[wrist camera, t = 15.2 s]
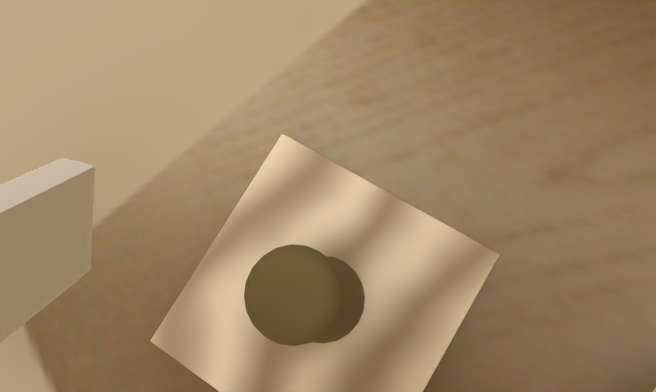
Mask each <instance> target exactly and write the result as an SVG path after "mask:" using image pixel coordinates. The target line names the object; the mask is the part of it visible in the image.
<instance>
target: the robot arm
mask: <svg viewBox="0 0 656 392" xmlns="http://www.w3.org/2000/svg"><path fill="white" fill-rule="evenodd" d="M94 175H95V166H92V165H89V164H85V163H81V162H78V161H73V160H71V159H66V158H61V159H59V160H56V161H54V162H52V163H49V164H47V165H45V166H42V167H40V168H38V169H35V170H33V171H31V172H28V173H26V174H24V175H21V176H19V177H17V178H14V179H12V180H10V181H7V182H5V183H3V184H0V342H2V341H3V340H4V339H6V338H7V337H8V336H9V335H10V334H12V333H13V332H14V331H15V330H17V329H18V328H19V327H20V326H22V325H23V324H24V323H25V322H27V321H28V320H29V319H30V318H32V317H33V316H34V315H35V314H37V313H38V312H39V311H40V310H42V309H43V308H44V307H45V306H47V305H48V304H49V303H50V302H52V301H53V300H54V299H55V298H56V297H58V296H59V295H60V294H61V293H63V292H64V291H65V290H66V289H68V288H69V287H70V286H71V285H73V284H74V283H75V282H76V281H78V280H79V279H80V278H81V277H83V276H84V275H85V274H86V273H88V272H89V271H90V270H91V246H92V222H93V198H94ZM653 392H656V387H655V389H654V390H653Z"/></svg>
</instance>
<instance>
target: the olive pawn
mask: <svg viewBox="0 0 656 392" xmlns="http://www.w3.org/2000/svg"><path fill="white" fill-rule="evenodd" d="M244 300H245V306H246V312H247V314H248V316H249V318H250V320H251V322H252V324H253V325H254V327H255V328H256V329H257V330H258V331H259V332H260V333H261V334H262V335H263V336H264V337H266V338H268V339H270V340H272V341H274V342H276V343H278V344H281V345H289V346H298V345H303V344H307V343H311V342H315V343H329V342H334V341H338V340H339V339H341V338H343V337H344V336H346V335H348V334H349V333H350V332H351V331H352V330H353V329H354V327H355V326H356V325H357V324H358V322H359V320H360V318H361V315H362V313H363V311H364V301H365V295H364V290H363V286H362V282H361V280H360V279H359V277H358V275H357V274H356V272H355V271H354V270H353V269H352V268H351V267H350V266H349V265H348V264H347V263H345V262H344V261H341V260H339V259H337V258H334V257H329V256H325V255H323V254H322V253H321V252H320V251H318V250H315V249H313V248H311V247H308V246H305V245H294V244H290V245H286V246H282V247H277V248H275V249H274V250H272V251H270V252H269V253H267V254H265V255H264V256H262V257H261V258H260V259H259V261H258V262H257V263H256V264H255V265H254V266H253V267H252V269H251V271H250V274H249V276H248V278H247V280H246V284H245V292H244Z"/></svg>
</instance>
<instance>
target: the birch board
mask: <svg viewBox="0 0 656 392" xmlns="http://www.w3.org/2000/svg"><path fill="white" fill-rule="evenodd" d="M290 244H294V245H305V246H308V247H311V248H313V249H315V250H318V251H320V252H321V253H322V254H323V255H325V256H329V257H334V258H337V259H339V260H341V261H344V262H345V263H347V264H348V265H349V266H350V267H351V268H352V269H353V270H354V271H355V272H356V274H357V275H358V277H359V279H360V280H361V282H362V286H363V290H364V295H365V301H364V311H363V313H362V315H361V318H360V320H359V322H358V324H357V325H356V326H355V327H354V329H353V330H352V331H351V332H350V333H349V334H348V335H346V336H344V337H343V338H341V339H339V340H338V341H334V342H329V343H315V342H311V343H307V344H303V345H298V346H289V345H281V344H278V343H276V342H274V341H272V340H270V339H268V338H266V337H264V336H263V335H262V334H261V333H260V332H259V331H258V330H257V329H256V328H255V327H254V325H253V324H252V322H251V320H250V318H249V316H248V314H247V312H246V306H245V300H244V292H245V284H246V280H247V278H248V276H249V274H250V271H251V269H252V267H253V266H254V265H255V264H256V263H257V262H258V261H259V259H260V258H261V257H262V256H264V255H265V254H267V253H269V252H270V251H272V250H274V249H275V248H277V247H282V246H286V245H290ZM499 255H500V254H498V253H496V252H494V251H492V250H491V249H489V248H487V247H485V246H483V245H482V244H480V243H478V242H476V241H474V240H473V239H471V238H469V237H467V236H465V235H464V234H462V233H460V232H458V231H456V230H455V229H453V228H451V227H449V226H447V225H446V224H444V223H442V222H440V221H438V220H437V219H435V218H433V217H431V216H429V215H428V214H426V213H424V212H422V211H420V210H419V209H417V208H415V207H413V206H411V205H410V204H408V203H406V202H404V201H402V200H401V199H399V198H397V197H395V196H393V195H392V194H390V193H388V192H386V191H384V190H383V189H381V188H379V187H377V186H375V185H374V184H372V183H370V182H368V181H366V180H365V179H363V178H361V177H359V176H357V175H356V174H354V173H352V172H350V171H349V170H347V169H345V168H343V167H341V166H340V165H338V164H336V163H334V162H332V161H331V160H329V159H327V158H325V157H323V156H322V155H320V154H318V153H316V152H314V151H313V150H311V149H309V148H307V147H305V146H304V145H302V144H300V143H298V142H296V141H295V140H293V139H291V138H289V137H287V136H286V135H284V134H282V135H281V136H280V138H279V140H278V141H277V143H276V144H275V146H274V147H273V149H272V151H271V152H270V154H269V155H268V157H267V158H266V160H265V162H264V163H263V165H262V166H261V168H260V169H259V171H258V173H257V174H256V176H255V177H254V179H253V180H252V182H251V183H250V185H249V187H248V188H247V190H246V191H245V193H244V194H243V196H242V198H241V199H240V201H239V202H238V204H237V205H236V207H235V209H234V210H233V212H232V213H231V215H230V216H229V218H228V220H227V221H226V223H225V224H224V226H223V227H222V229H221V231H220V232H219V234H218V235H217V237H216V238H215V240H214V241H213V243H212V245H211V246H210V248H209V249H208V251H207V252H206V254H205V256H204V257H203V259H202V260H201V262H200V263H199V265H198V267H197V268H196V270H195V271H194V273H193V274H192V276H191V278H190V279H189V281H188V282H187V284H186V285H185V287H184V289H183V290H182V292H181V293H180V295H179V296H178V298H177V299H176V301H175V303H174V304H173V306H172V307H171V309H170V310H169V312H168V314H167V315H166V317H165V318H164V320H163V321H162V323H161V325H160V326H159V328H158V329H157V331H156V332H155V334H154V336H153V337H152V339H151V340H150V341H151V342H152V343H154V344H155V345H156V346H158V347H159V348H160V349H162V350H163V351H165V352H166V353H167V354H169V355H170V356H171V357H173V358H174V359H176V360H177V361H178V362H180V363H181V364H182V365H184V366H185V367H186V368H188V369H189V370H191V371H192V372H193V373H195V374H196V375H197V376H199V377H200V378H202V379H203V380H204V381H206V382H207V383H208V384H210V385H211V386H213V387H214V388H215V389H217V390H218V391H219V392H423V390H424V389H425V387H426V385H427V383H428V382H429V380H430V378H431V376H432V374H433V373H434V371H435V369H436V367H437V365H438V364H439V362H440V360H441V358H442V357H443V355H444V353H445V351H446V349H447V348H448V346H449V344H450V342H451V340H452V339H453V337H454V335H455V333H456V332H457V330H458V328H459V326H460V324H461V323H462V321H463V319H464V317H465V315H466V314H467V312H468V310H469V308H470V307H471V305H472V303H473V301H474V299H475V298H476V296H477V294H478V292H479V290H480V289H481V287H482V285H483V283H484V282H485V280H486V278H487V276H488V274H489V273H490V271H491V269H492V267H493V265H494V264H495V262H496V260H497V258H498V257H499Z"/></svg>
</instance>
